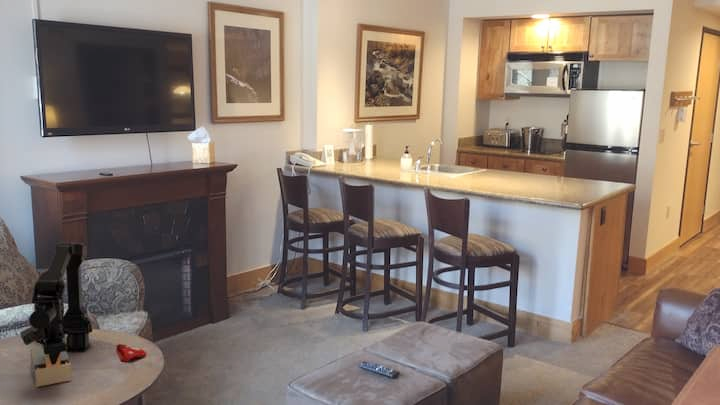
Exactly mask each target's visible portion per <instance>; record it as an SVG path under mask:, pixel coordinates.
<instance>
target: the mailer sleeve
mask: <svg viewBox="0 0 720 405" xmlns="http://www.w3.org/2000/svg"><path fill="white" fill-rule="evenodd" d="M29 352H30V366H31V371H32V375H33V380H34V383H36V373H35V369H36V366H38V365H43V364H46V354H44V352H43V348H42V346H38V347H37V346H35V347H30V350H29ZM47 355H49V354H47ZM60 361H66V362H67V364H68V363H70V358H69V355H68V351H65V352H61V353H60Z"/></svg>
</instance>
